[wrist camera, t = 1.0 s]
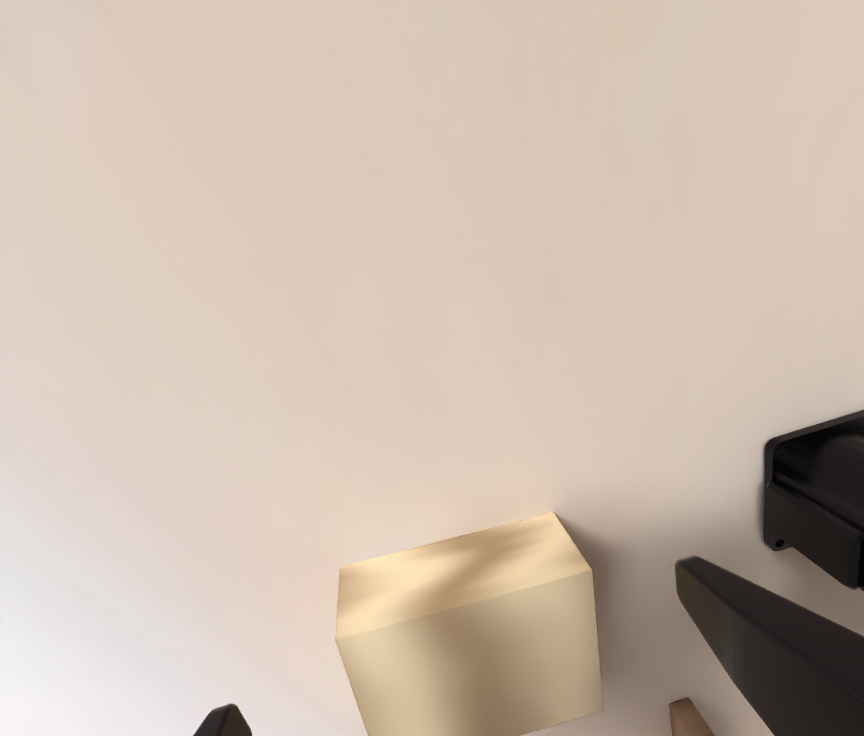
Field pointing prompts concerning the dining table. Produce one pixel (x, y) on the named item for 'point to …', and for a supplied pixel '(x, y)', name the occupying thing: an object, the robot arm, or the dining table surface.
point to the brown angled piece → (687, 720)
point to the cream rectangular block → (472, 634)
